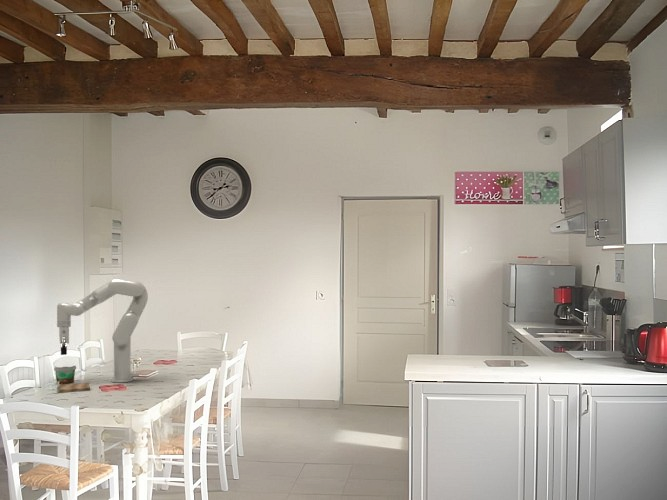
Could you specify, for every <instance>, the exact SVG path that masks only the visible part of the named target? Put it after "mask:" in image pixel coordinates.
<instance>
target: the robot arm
mask: <svg viewBox="0 0 667 500" xmlns="http://www.w3.org/2000/svg"><path fill="white" fill-rule="evenodd" d="M116 295H121V296H128V297H132V300H131V302H130V304H129V306H128V308H127V310H126V311H125V313H124V314H123V315H122V317H121V319H120V320H119V322H118V325H117V326H116V328H115V330H114V332H113V334H112V338H111V339H112V342H113V377H112V379H111V382H112V383H129V382H133V381H134V378H138V377H140V373H135V372H134V373H133V372H131V371H132V367H131V362H132V361H131V360H132V359H131V353H132V352H131V345H132V344H131V342H132V341H131V339H132V338H131V337H132V335H133V333H134V331H135V329H136V328H137V326H138V323H139V321H140V318H141V316H142V314H143V312H144V310H145V308H146V305H147V303H148V300H149V294H148V291H147V289H146V286H145V285H144V284H143V283H142V282H140V281H129V280H123V279H121V278H118V277H116V278H115V277H114V278H113V279H111V280H110V281H108V282H106V283H103V284H102V285H101V286H99V287H98V288H96V289H95V290H93V291H92V292H91V293H89V294H88V295H86V296H85V297H83V298H82V299H80V300H77V302H75V303H68V302H60V303H58V304H57V305H56V327H57V328H58V329H59V330H58V334H59V335H58V336H59V344H60V355H61V356H67V353H68V348H67V347H68V346H67V345H70V327H71V325H72V318H71V317H73V316H75V317H78V316H81V315H83V314H85V313H86V312H87V311H89V310H91V309H92V308H94V307H96V306H97V305H100V304H102V303H104V302H105V301H107V300H109V299H110V298H112V297H114V296H116Z"/></svg>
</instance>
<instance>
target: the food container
mask: <svg viewBox="0 0 667 500" xmlns="http://www.w3.org/2000/svg"><path fill="white" fill-rule="evenodd" d="M76 369H77V366H76V365H72V366H62V367H61V366H54V369H53V370H54V372H55V381H56V383H57V382H58V381H59V385H65V384H75V375H76Z"/></svg>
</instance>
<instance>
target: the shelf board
mask: <svg viewBox="0 0 667 500" xmlns="http://www.w3.org/2000/svg"><path fill="white" fill-rule="evenodd" d="M56 384H57V385H56V387H57V388H56V389H57V394H63V393H75V392H76V393H77V392H89V391H91V385H90V382H82V383H81V382H78V383H71V384H59V381H58V382H57V381H56Z"/></svg>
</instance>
